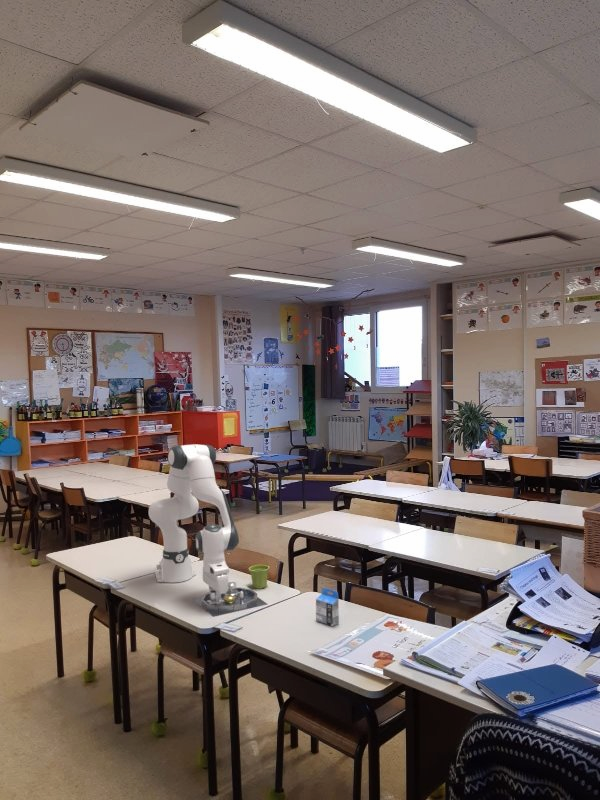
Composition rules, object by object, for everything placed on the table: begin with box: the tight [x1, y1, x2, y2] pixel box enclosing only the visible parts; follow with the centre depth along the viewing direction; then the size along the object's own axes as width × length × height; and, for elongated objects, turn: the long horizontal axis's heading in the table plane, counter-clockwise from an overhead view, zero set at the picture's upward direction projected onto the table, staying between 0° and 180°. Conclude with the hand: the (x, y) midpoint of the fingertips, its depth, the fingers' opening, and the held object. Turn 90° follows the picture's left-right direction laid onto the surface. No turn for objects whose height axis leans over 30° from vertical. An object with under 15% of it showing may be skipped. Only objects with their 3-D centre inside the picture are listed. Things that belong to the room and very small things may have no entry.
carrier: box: [192, 581, 268, 618], centre depth 251 cm, size 24×24×7 cm
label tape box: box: [315, 586, 340, 627], centre depth 228 cm, size 9×4×12 cm, turn 45°
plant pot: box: [248, 564, 270, 590], centre depth 272 cm, size 9×9×9 cm
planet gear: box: [207, 590, 224, 606], centre depth 247 cm, size 7×7×6 cm
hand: (215, 598), depth 247 cm, fingers open, 4 cm apart
